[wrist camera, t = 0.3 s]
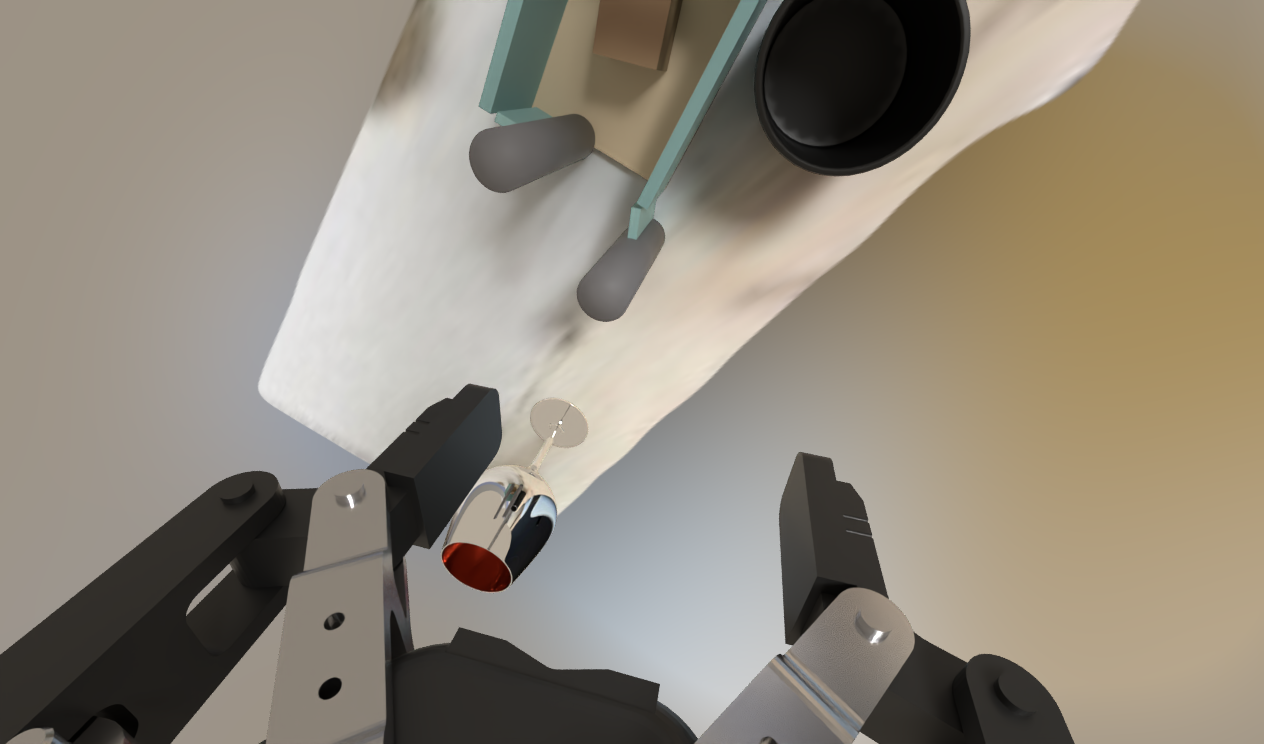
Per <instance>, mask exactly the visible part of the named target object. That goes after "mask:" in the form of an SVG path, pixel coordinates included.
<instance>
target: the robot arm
mask: <svg viewBox="0 0 1264 744" xmlns="http://www.w3.org/2000/svg"><path fill="white" fill-rule="evenodd" d="M501 439H502V427H501V415H500V403H499V394H498V391H497V390H496V389H493V388H488V387H483V386H478V385H473V384H468V385H466V386H465V387H464V388H463V389H462V390H461V391H460V392H459V393H458V394H457V395H456V396H455V397H454V398H453V399H450V398H445V399H443V400H441V401H440V402H438V403H436V404H434V405H432V406H430V407H428V408H427V409H426V410H425V411H424V412H423V413H422V414H421V415H420V416H419V417H418V418H417V419H416V422H413V423H412V424H411V425H410V426H409V427H408V428H407V429H406V432H403V433H402V434H401V435H400V436H399V437H398V438H397V439H396V440H395V441H394V442H393V443H392V444H391V445H390V446H389V447H388V448H387V449H386V450H385V451H384V452H383V453H382V454H381V455H380V456H379V457H378V458H377V459H376V460H375V461H373V462H372V463H371V464H370V466H368V467H367V469H358V470H351V471H347V472H344V473H341V474H338V475H336V476H334V477H332V478H330V479H329V480H328V481H326V482H325V483H323V484H322V485H321V486H320V487H319V488H313V489H311V488H310V489H281V487H280V485H279V482H278V480H277V478H276V477H275V476H274V475H273V474H271V473H268V472H262V471H251V472H245V473H241V474H237V475H234V476H231V477H229V478H226V479H224V480H222V481H220V482H218V483H217V484H215V485H214V486H212V487H211V488H209V489H208V490H207V491H206V492H204V493H203V494H202V495H201V496H200V497H198V498H197V499H196V500H194V501H193V502H192V503H190V504H189V505H188V506H187V507H185V508H184V509H183V510H182V511H180V512H179V513H178V514H177V515H175V516H174V517H173V518H172V519H171V520H169V521H168V522H167V523H165V524H164V525H163V526H162V527H160V528H159V529H158V530H157V531H155V532H154V533H153V534H152V535H150V536H149V537H148V538H146V539H145V540H144V541H143V542H142V543H141V544H139V545H138V546H136V547H135V548H134V549H133V550H132V551H130V552H129V553H128V554H126V555H125V556H124V557H123V558H121V559H120V560H119V561H118V562H116V563H115V564H114V565H113V566H111V567H110V568H109V569H108V570H106V571H105V572H104V573H102V574H101V575H100V576H99V577H98V578H96V579H95V580H94V581H92V582H91V583H90V584H89V585H88V586H86V587H85V588H84V589H82V590H81V591H80V592H79V593H77V594H76V595H75V596H74V597H72V598H71V599H70V600H69V601H67V602H66V603H65V604H64V605H62V606H61V607H60V608H59V609H57V610H56V611H55V612H53V613H52V614H51V615H50V616H49V617H47V618H46V619H45V620H43V621H42V622H41V623H40V624H38V625H37V626H36V627H35V628H33V629H32V630H31V631H30V632H28V633H27V634H26V635H25V636H24V637H22V638H21V639H20V640H18V641H17V642H16V643H15V644H13V645H12V646H11V647H9V648H8V649H7V650H6V651H4V652H3V653H2V654H1V655H0V744H171V742H172V741H173V740H174V739H175V737H176V736H177V735H178V734H179V733H180V731H181V730H182V729H183V728H184V727H185V725H186V724H187V723H188V722H189V721H190V719H191V718H192V717H193V716H194V715H195V713H196V712H197V711H198V710H199V709H200V707H201V706H202V705H203V704H204V703H205V701H206V700H207V699H208V698H209V697H210V695H211V694H212V693H213V692H214V691H215V689H216V688H217V687H218V686H219V685H220V683H221V682H222V681H223V680H224V679H225V677H226V676H227V675H228V674H229V673H230V671H231V670H232V669H233V668H234V666H235V665H236V664H237V663H238V662H239V661H240V659H241V658H242V657H243V656H244V654H245V653H246V652H247V651H248V650H249V649H250V647H251V646H252V645H253V644H254V642H255V641H256V640H257V639H258V638H259V636H260V635H261V634H262V633H263V632H264V630H265V629H266V628H267V627H268V626H269V624H270V623H271V622H272V621H273V620H274V618H275V617H276V616H277V615H278V614H279V612H280V611H281V610H282V609H283V607H284V606H285V605H286V610H285V618H284V624H283V631H282V638H281V645H280V651H279V658H278V665H277V671H276V678H275V685H274V691H273V698H272V705H271V712H270V718H269V725H268V732H267V738H266V740H264V741H262V742H261V743H259V744H852V743H853V741H854V740H855V738H856V737H857V735H858V733H859V732H861V733H863V734H865V735H866V736H868V737H869V738H871V739H872V740H874V741H875V742H877V743H879V744H1074V741H1073V739H1072V737H1071V734H1070V732H1069V730H1068V727H1067V725H1066V723H1065V721H1064V718H1063V716H1062V713H1061V711H1060V709H1059V707H1058V705H1057V703H1056V702H1055V700H1054V699H1053V697H1052V696H1051V695H1050V693H1049V692H1048V691H1047V690H1046V688H1045V687H1044V686H1043V685H1042V684H1041V683H1040V682H1039V681H1038V680H1037V679H1036V678H1035V677H1034V676H1032V675H1031V674H1030V673H1029V672H1027V671H1026V670H1025V669H1023V668H1022V667H1020V666H1018V665H1017V664H1016V663H1014V662H1012V661H1010V660H1008V659H1005V658H1003V657H1000V656H996V655H992V654H980V655H977V656H974V657H973V658H972V659H971V660H970V661H969V662H968V663H967V662H965V661H963V660H961V659H959V658H957V657H955V656H954V655H952V654H950V653H948V652H946V651H944V650H942V649H941V648H939V647H937V646H935V645H933V644H931V643H929V642H928V641H926V640H924V639H923V638H921V637H920V636H918V635H917V634H916V633H914V632H913V629H912V627H911V625H910V623H909V621H908V619H907V618H906V616H905V615H904V614H903V612H902V611H901V610H900V609H899V608H898V607H897V606H896V605H895V604H894V603H893V602H892V601H890V600H889V598H888V595H887V591H886V588H885V583H884V580H883V576H882V572H881V568H880V564H879V560H878V556H877V553H876V549H875V545H874V540H873V539H872V533H871V529H870V525H869V523H868V517H867V513H866V510H865V506H864V502H863V500H862V499H861V497H860V496H859V495H858V493H857V492H856V491H855V489H854V488H853V486H852V485H851V484H850V483H845V482H840V481H836V477H835V472H834V467H833V462H832V460H831V459H830V458H827V457H822V456H817V455H812V454H808V453H803V452H799V453H798V454H797V456H796V459H795V462H794V465H793V467H792V470H791V473H790V476H789V478H788V481H787V484H786V487H785V490H784V493H783V495H782V499H781V504H780V513H779V527H780V547H781V565H782V585H783V604H784V623H785V642H786V644H789V645H793V646H792V647H791V648H790V649H789V650H788V651H787V652H786V653H785V654H784V655H783V656H782V655H781V654H779V655H777V656H776V657H774V658H773V659H772V660H771V661H770V662H769V663H768V664H767V665H766V666H765V668H764V669H763V670H762V671H761V672H760V673H759V674H758V675H757V676H756V677H755V678H754V679H753V680H752V681H751V683H750V684H749V685H748V686H747V687H746V688H745V689H744V690H743V691H742V692H741V693H740V694H739V696H738V697H737V698H736V699H735V700H734V701H733V702H732V703H731V704H730V705H729V707H727V709H726V710H725V711H724V712H723V713H722V714H721V715H720V716H719V717H718V718H717V719H716V721H715V722H714V723H713V724H712V725H711V726H710V727H709V728H708V729H707V730H706V731H705V732H704V733H703V734H702V736H701V737H700V738H699V739H698V738H697V737H696V736H695V734H694V733H693V732H692V730H691V729H690V728H689V727H688V726H687V725H686V723H685V722H684V721H683V720H682V719H681V718H680V717H679V716H678V715H676V714H675V713H674V712H673V711H671V710H670V709H669V708H668V707H666V706H665V705H663V704H662V703H660V702H659V701H657V699H658V692H659V686H660V684H657V683H654V682H651V681H647V680H644V679H640V678H637V677H633V676H629V675H626V674H622V673H619V672H615V671H612V670H608V669H605V670H602V669H593V670H590V669H583V670H556V669H551V668H548V667H546V666H545V665H543V664H542V663H540V662H539V661H537V660H536V659H534V658H532V657H531V656H529V655H528V654H526V653H525V652H523V651H522V650H520V649H518V648H517V647H515V646H514V645H512V644H511V643H509V642H508V641H506V640H503V639H499V638H495V637H492V636H488V635H485V634H481V633H477V632H474V631H471V630H467V629H464V628H459V629H458V631H457V632H456V634H455V636H454V638H453V640H452V642H451V643H443V644H436V645H430V646H426V647H423V648H419V649H416V650H414V645H413V639H412V633H411V624H410V609H409V596H408V583H407V582H408V581H407V569H406V559H405V554H406V553H407V552H408V550H409V549H410V548H411V546H412V545H416V546H420V547H423V548H427V549H430V548H431V546H432V545H433V543H434V542H435V541H436V539H437V538H438V537H439V535H440V534H441V532H442V531H443V529H444V528H445V527H446V525H447V524H448V522H449V521H450V519H451V518H452V517H453V515H454V514H455V512H456V511H457V510H458V508H459V507H460V505H461V504H462V502H463V501H464V500H465V498H466V497H467V495H468V494H469V492H470V491H471V490H472V488H473V487H474V485H475V484H476V483H477V481H478V480H479V478H480V477H481V475H482V474H483V473H484V471H485V470H486V468H487V467H488V465H489V464H490V463H491V461H492V460H493V458H494V457H495V455H496V454H497V452H498V450H499V447H500V444H501ZM228 564H230V565H231V567H232V569H233V570H232V571H231V572H230V573H229V574H228V575H227V576H226V577H225V578H224V579H223V580H222V581H221V582H220V583H219V584H218V585H217V586H216V587H215V588H214V589H213V590H212V591H211V592H210V593H209V594H208V595H207V596H206V597H205V598H204V599H203V600H202V601H201V602H200V603H199V604H198V605H197V606H196V607H195V608H194V609H193V610H192V611H191V612H190V613H189V614H188V615H187V616H186V612H187V610H188V607H189V605H190V603H191V602H192V600H193V599H194V598H195V597H196V596H197V594H198V593H200V591H201V590H202V589H203V588H205V587H206V586H207V585H208V584H209V583H210V582H211V581H212V580H213V579H214V578H215V577H216V576H217V575H218V574H219V573H220V572H221V571H222V570H223V569H224V568H225V567H226V566H227V565H228Z"/></svg>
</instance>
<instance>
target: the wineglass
mask: <svg viewBox="0 0 1264 744" xmlns="http://www.w3.org/2000/svg"><path fill="white" fill-rule="evenodd" d="M530 419H531V424H532V427H533V429H534V430H535V432H536V433H537V434H538V435H539V436H540V437H541V438H542V439H543V440H544V441H545V442H544V444H543V445H542V447H541V449H540V450H539V452H538V454H537V456H536V457H535V459H534V461H533V462H532V464H531V465H530V466H528V467H523V466H518V465H501V466H496V467H493V468H490V469H487V470H485V471H484V473H483V474H482V475H481V477H480V478H479V480H478V481H477V483H476V484H475V485H474V487H473V488H472V490H471V491H470V492H469V494H468V495H467V497H466V498H465V500H464V501H463V502H462V504H461V505H460V507H459V508H458V510H457V511H456V512H455V514H454V515H453V518H452V521H451V524H450V527H449V530H448V533H447V536H446V539H445V542H444V545H443V548H442V551H441V561H442V563H443V565H444V567H445V568H446V570H447V571H448V572H449V573H450V574H451V575H452V576H453V577H454V578H455V579H456V580H458V581H459V582H461V583H462V584H464V585H466V586H468V587H470V588H472V589H475V590H478V591H481V592H487V593H498V592H502V591H504V590H507V589H508V588H509V587H510V586H511V585H512V584H513V582H514V581H515V580H516V579H517V578H518V577H519V576H520V575H521V573H522V572H523V571H524V570H525V569H526V568H527V567H528V565H529V564H530V563H531V562H532V561H533V560H534V558H535V557H536V556H537V555H538V554H539V552H540V551H541V550H542V548H543V547H544V546H545V545H546V543H547V542H548V540H549V538H550V537H551V535H552V533H553V531H554V528H555V525H556V521H557V506H556V501H555V498H554V495H553V493H552V490H551V489H550V487H549V485H548V484H547V482H546V481H545V480H544V479H543V478H542V477H541V476H540V475H539V473H538V469H539V467H540V465H541V463H542V461H543V460H544V458H545V456H546V454H547V452H548V451H549V449H550V447H551V445H554V446H557V447H562V448H570V447H575V446H577V445H579V444H581V443H582V442H583V441H584V440H585V438H586V436H587V434H588V423H587V420H586V418H585V416H584V414H583V413H582V412H581V411H580V409H578V408H577V407H576V406H575V405H573V404H572V403H570V402H568V401H566V400H563V399H558V398H547V399H544V400H541V401H539V402H538V403H537V404H536V405H535V406H534V407H533V409H532V411H531V416H530Z"/></svg>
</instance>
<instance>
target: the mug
mask: <svg viewBox="0 0 1264 744" xmlns="http://www.w3.org/2000/svg"><path fill="white" fill-rule="evenodd" d="M969 47H970V15H969V10H968V6H967V2H966V0H784V1H783V2H782V3H781V5H780V6H779V8H778V10H777V11H776V13H775V14H774V16H773V18H772V20H771V22H770V24H769V26H768V28H767V30H766V33H765V35H764V38H763V40H762V44H761V47H760V50H759V53H758V58H757V63H756V69H755V82H754V93H755V103H756V108H757V112H758V116H759V120H760V123H761V125H762V127H763V130H764V132H765V134H766V136H767V137H768V139H769V140H770V142H771V143H772V145H773V146H774V148H775V149H776V150H777V151H778V152H779V153H780V154H781V155H782V156H783V157H784V158H786V159H787V160H788V161H790V162H791V163H792V164H794V165H796V166H798V167H800V168H802V169H804V170H806V171H809V172H812V173H816V174H819V175H827V176H850V175H855V174H860V173H864V172H868V171H871V170H873V169H876V168H879V167H881V166H883V165H885V164H887V163H889V162H891V161H893V160H895V159H896V158H898V157H900V156H901V155H903V154H904V153H906V152H907V151H908V150H910V149H911V148H912V147H913V146H915V145H916V144H917V143H918V142H919V141H920V140H921V139H922V138H923V137H924V136H926V135H927V133H928V132H929V131H930V130H931V129H932V128H933V127H934V126H935V125H936V123H937V122H938V121H939V119H940V118H941V116H942V115H943V114H944V112H945V111H946V109H947V108H948V106H949V104H950V103H951V101H952V99H953V97H954V95H955V93H956V91H957V89H958V87H959V84H960V82H961V79H962V76H963V74H964V70H965V67H966V63H967V58H968V54H969Z"/></svg>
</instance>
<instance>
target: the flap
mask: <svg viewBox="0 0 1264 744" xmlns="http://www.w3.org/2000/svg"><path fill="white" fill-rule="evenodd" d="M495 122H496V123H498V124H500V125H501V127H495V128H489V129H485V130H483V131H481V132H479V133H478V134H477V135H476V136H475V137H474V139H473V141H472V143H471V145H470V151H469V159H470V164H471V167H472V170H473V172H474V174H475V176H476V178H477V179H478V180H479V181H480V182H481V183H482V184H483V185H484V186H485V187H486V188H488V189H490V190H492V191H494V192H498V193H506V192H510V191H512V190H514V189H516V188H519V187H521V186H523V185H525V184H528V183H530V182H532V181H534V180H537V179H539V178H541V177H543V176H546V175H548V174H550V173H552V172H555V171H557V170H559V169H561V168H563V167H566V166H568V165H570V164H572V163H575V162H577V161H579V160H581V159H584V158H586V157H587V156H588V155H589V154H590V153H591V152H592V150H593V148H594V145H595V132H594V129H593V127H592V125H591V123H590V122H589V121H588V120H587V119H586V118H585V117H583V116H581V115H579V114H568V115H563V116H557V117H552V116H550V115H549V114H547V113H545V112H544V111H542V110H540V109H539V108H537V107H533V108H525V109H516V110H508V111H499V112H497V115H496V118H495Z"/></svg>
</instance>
